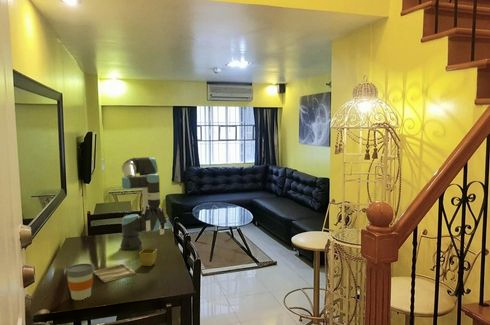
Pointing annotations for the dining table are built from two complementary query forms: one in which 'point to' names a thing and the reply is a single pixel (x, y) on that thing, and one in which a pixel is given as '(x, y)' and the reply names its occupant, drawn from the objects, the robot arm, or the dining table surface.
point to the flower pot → (148, 256)
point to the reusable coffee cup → (80, 280)
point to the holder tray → (114, 272)
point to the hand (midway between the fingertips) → (155, 232)
